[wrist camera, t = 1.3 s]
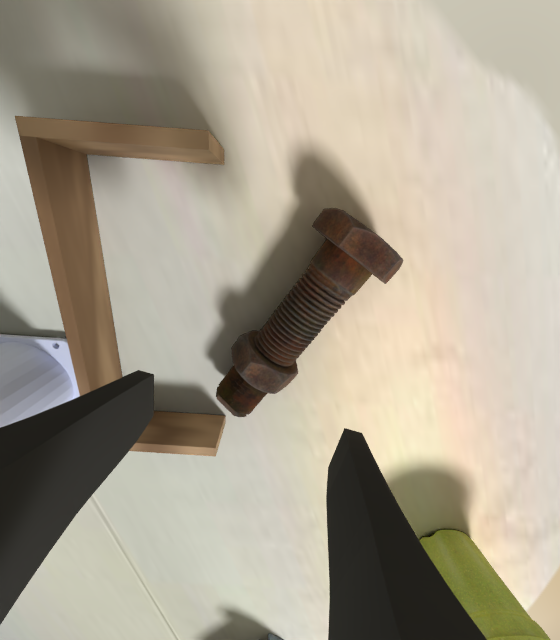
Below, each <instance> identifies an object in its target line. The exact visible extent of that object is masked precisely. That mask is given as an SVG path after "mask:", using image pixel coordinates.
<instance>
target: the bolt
mask: <svg viewBox="0 0 560 640" xmlns="http://www.w3.org/2000/svg"><path fill="white" fill-rule="evenodd" d="M312 227H313V228H315V229H316V230H317V231H318V232H319V233H321V234H322V235H323V236H324V237H325V238H327V240H326V241H325V243H324V244H323V245H322V247H321V248H320V249H319V251H318V252H317V253H316V255H315V256H314V257H313V259H312V260H311V264H310V265H309V269H306V274H302V276H303V278H299V281H300V282H296V286H293V290H290V292H289V293H290V294H287V295H286V298H284V299H283V302H281V303H280V306H278V308H277V310H275V311H274V314H272V316H271V317H270V318H269V320H268V321H267V322H266V325H264V326H263V328H262V329H261V330H260V331H250V332H247V333H245V334H243V335H241V336H240V337H239V338H238V339H237V341H236V342H235V344H234V345H233V346H232V359H233V364H234V366H233V367H232V368H231V369H230V371H229V372H228V373H227V375H226V376H225V378H224V379H223V380H222V381H221V382H220V384H219V387H217V392H216V397H217V399H218V400H219V401H220V402H221V403H222V404H223V405H224V406H225V407H226V408H227V409H228V410H229V411H230V412H231V413H232V414H233V415H234V416H237V417H245V416H246V414H250V413H251V412H252V411H253V409H254V408H255V406H257V405H258V403H259V402H260V401H261V400H262V399H263V397H264V396H265V395H266V394H267V393H272V394H275V393H277V392H279V391H280V390H282V389H283V388H284V387H286V386H287V385H288V384H289V383H290V382H291V381H292V380H293V379H294V377H295V376H296V375H297V374H298V369H297V363H296V359H297V358H298V357H299V355H301V354H302V351H304V350H305V348H307V347H308V345H309V344H310V343H311V341H312V340H314V338H315V337H316V336H317V335H318V333H320V331H321V329H322V328H323V327H324V325H326V324H327V321H329V320H330V319H331V317H333V316H334V313H337V312H338V309H341V305H344V304H345V302H344V300H345V301H347V300H348V299H349V298H350V297H351V296H352V295H354V294H355V293H356V292H357V291H358V290H359V289H360V288H361V286H362V285H363V284H364V283H365V282H366V281H367V280H368V279H369V277H370V276H371V275H372V274H373V275H374V276H376V277H377V278H378V279H380V280H381V281H382V282H384V283H385V284H386V283H387V282H388V281H389V280H390V279H391V278H392V276H393V275H394V274H395V273H396V272H397V271H398V270H399V268H400V267H401V265H402V263H403V259H402V258H401V257H400V256H399V254H398V253H397V252H396V251H395V250H394V249H393V248H392V247H391V246H390V245H388V244H387V243H386V242H385V241H384V240H383V239H382V238H381V237H379V236H378V235H377V234H375V233H374V232H373V231H371V230H370V229H369V228H367V227H366V226H365V225H363V224H362V223H361V222H359V221H358V220H356V219H355V218H353V217H352V216H350V215H349V214H347V213H346V212H344V211H343V210H340V209H337V208H329V209H324V210H323V211H322V212H321V214H320V215H319V217H318V218H317V219H316V221H315V222H314V223H313V225H312Z"/></svg>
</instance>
